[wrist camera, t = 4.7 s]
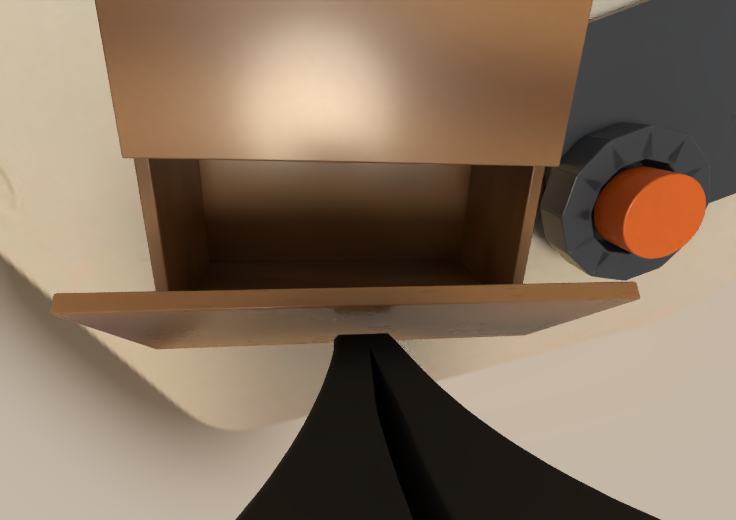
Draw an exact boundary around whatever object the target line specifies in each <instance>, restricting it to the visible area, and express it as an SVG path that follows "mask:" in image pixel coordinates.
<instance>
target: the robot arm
mask: <svg viewBox="0 0 736 520" xmlns="http://www.w3.org/2000/svg"><path fill="white" fill-rule="evenodd" d="M236 520H660V519H658V518H656V517H654V516H651V515H649V514H647V513H644V512H642V511H640V510H637V509H635V508H633V507H631V506H629V505H627V504H624V503H622V502H620V501H618V500H616V499H613V498H611V497H609V496H607V495H605V494H603V493H602V492H600V491H598V490H596V489H594V488H592V487H590V486H588V485H586V484H584V483H582V482H580V481H578V480H576V479H574V478H572V477H571V476H569V475H567V474H565V473H563V472H561V471H560V470H558V469H556V468H554V467H552V466H551V465H549V464H547V463H546V462H544V461H542V460H540V459H539V458H537V457H536V456H534V455H532V454H531V453H529V452H527V451H526V450H524V449H523V448H521V447H519V446H518V445H516V444H515V443H513V442H512V441H510V440H508V439H507V438H505V437H504V436H502V435H501V434H500V433H498V432H497V431H495V430H494V429H492V428H491V427H490V426H488V425H487V424H486V423H484V422H483V421H482V420H480V419H479V418H477V417H476V416H475V415H473V414H472V413H471V412H470V411H468V410H467V409H466V408H464V407H463V406H462V405H461V404H460V403H458V402H457V401H456V400H455V399H454V398H453V397H451V396H450V395H449V394H448V393H447V392H446V391H444V390H443V389H442V388H441V387H440V386H439V385H438V384H437V383H436V382H435V381H434V380H433V379H432V378H431V377H430V376H429V375H428V374H427V373H426V372H425V371H424V370H422V368H421V367H420V366H419V365H418V364H417V363H416V362H415V361H414V360H413V359H412V358H411V357H410V356H409V355H408V354H407V353H406V352H405V351H404V350H403V348H402V347H401V346H400V345H399V344H398V343H397V342H396V341H395V340H394V339H393V338H392V337H391V336H390V334H389V333H375V334H346V335H338V336H337V337H336V338H335V339H334V351H333V356H332V360H331V363H330V367H329V369H328V372H327V375H326V378H325V380H324V383H323V386H322V388H321V390H320V393H319V395H318V397H317V399H316V401H315V403H314V405H313V407H312V409H311V411H310V414H309V415H308V417H307V419H306V421H305V423H304V425H303V427H302V428H301V430H300V432H299V433H298V435H297V437H296V438H295V440H294V442H293V443H292V445H291V447H290V448H289V450H288V451H287V453H286V454H285V456H284V457H283V459H282V460H281V462H280V463H279V464H278V466H277V467H276V469H275V470H274V472H273V473H272V475H271V476H270V477H269V479H268V480H267V481H266V483H265V484H264V485H263V487H262V488H261V490H260V491H259V492H258V493H257V495H256V496H255V497H254V498H253V499H252V501H251V502H250V503H249V504H248V505H247V506H246V508H245V509H244V510H243V511H242V513H241V514H240V515H239V516H238V517H237V519H236Z"/></svg>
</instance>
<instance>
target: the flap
mask: <svg viewBox="0 0 736 520" xmlns="http://www.w3.org/2000/svg"><path fill="white" fill-rule="evenodd" d="M638 299H640V295H639V291H638V288H637V284H636V282H595V283H546V284H497V285H447V286H398V287H349V288H300V289H250V290H201V291H152V292H103V293H57V294H54V296H53V301H52V306H51V314H52V315H54V316H58V317H61V318H64V319H67V320H70V321H73V322H76V323H79V324H82V325H85V326H88V327H91V328H94V329H97V330H100V331H103V332H106V333H109V334H112V335H115V336H118V337H121V338H124V339H127V340H130V341H133V342H136V343H139V344H142V345H145V346H148V347H151V348H154V349H175V348H202V347H228V346H255V345H281V344H308V343H334V339H335V338H336V337H337V336H338V335H346V334H375V333H389V334H390V336H391V337H392V338H393V339H394V340H413V339H440V338H466V337H493V336H519V335H527V334H530V333H533V332H536V331H540V330H543V329H546V328H549V327H552V326H556V325H559V324H562V323H565V322H568V321H571V320H575V319H578V318H581V317H584V316H587V315H590V314H594V313H597V312H600V311H603V310H606V309H609V308H613V307H616V306H619V305H622V304H625V303H628V302H632V301H635V300H638Z"/></svg>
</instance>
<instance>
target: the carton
mask: <svg viewBox="0 0 736 520" xmlns="http://www.w3.org/2000/svg"><path fill="white" fill-rule="evenodd" d="M592 1H593V0H95V4H96V10H97V16H98V21H99V27H100V33H101V39H102V44H103V50H104V56H105V61H106V67H107V73H108V78H109V84H110V90H111V96H112V101H113V107H114V113H115V118H116V124H117V130H118V136H119V141H120V147H121V153H122V157H123V158H134V163H135V169H136V175H137V181H138V187H139V193H140V199H141V205H142V211H143V217H144V223H145V229H146V235H147V241H148V247H149V253H150V259H151V265H152V271H153V277H154V284H155V290H156V291H201V290H250V289H300V288H349V287H398V286H447V285H497V284H523V280H524V275H525V269H526V264H527V259H528V254H529V248H530V243H531V238H532V233H533V227H534V222H535V217H536V212H537V207H538V201H539V196H540V191H541V186H542V180H543V175H544V170H545V166H549V167H558V166H559V164H560V159H561V154H562V149H563V144H564V139H565V134H566V129H567V125H568V120H569V115H570V110H571V105H572V100H573V95H574V90H575V85H576V80H577V75H578V70H579V65H580V61H581V56H582V51H583V46H584V41H585V36H586V31H587V26H588V21H589V16H590V11H591V6H592Z"/></svg>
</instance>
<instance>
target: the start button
mask: <svg viewBox="0 0 736 520" xmlns="http://www.w3.org/2000/svg"><path fill="white" fill-rule="evenodd" d="M705 209H706V197H705V193H704V191H703V188H702V187H701V185H700V184H699V183H698V182H697V181H696V180H695V179H694V178H692V177H690V176H688V175H685V174H681V173H676V172H671V171H666V170H661V169H657V168H652V167H646V166H638V167H633V168H630V169H627V170H625V171H623V172H621V173H619V174H618V175H616V176H615V177H613V178H612V179H611V180H610V181H609V182H608V183H607V184H606V185H605V187H604V188H603V190H602V191H601V193H600V194H599V196H598V199H597V201H596V204H595V208H594V223H595V227H596V229H597V231H598V233H599V234H600V235H601V237H602V238H604V239H605V240H606V241H608V242H610V243H612V244H614V245H616V246H618V247H620V248H622V249H624V250H626V251H628V252H631V253H633V254H635V255H637V256H639V257H642V258H648V259H654V258H661V257H665V256H668V255H670V254H672V253H674V252H676V251H677V250H679V249H680V248H682V247H683V246H684V245H685V244H687V242H688V241H689V240H690V239H691V238H692V237H693V236H694V235H695V233H696V232H697V230H698V229H699V227H700V225H701V223H702V220H703V217H704V214H705Z"/></svg>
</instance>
